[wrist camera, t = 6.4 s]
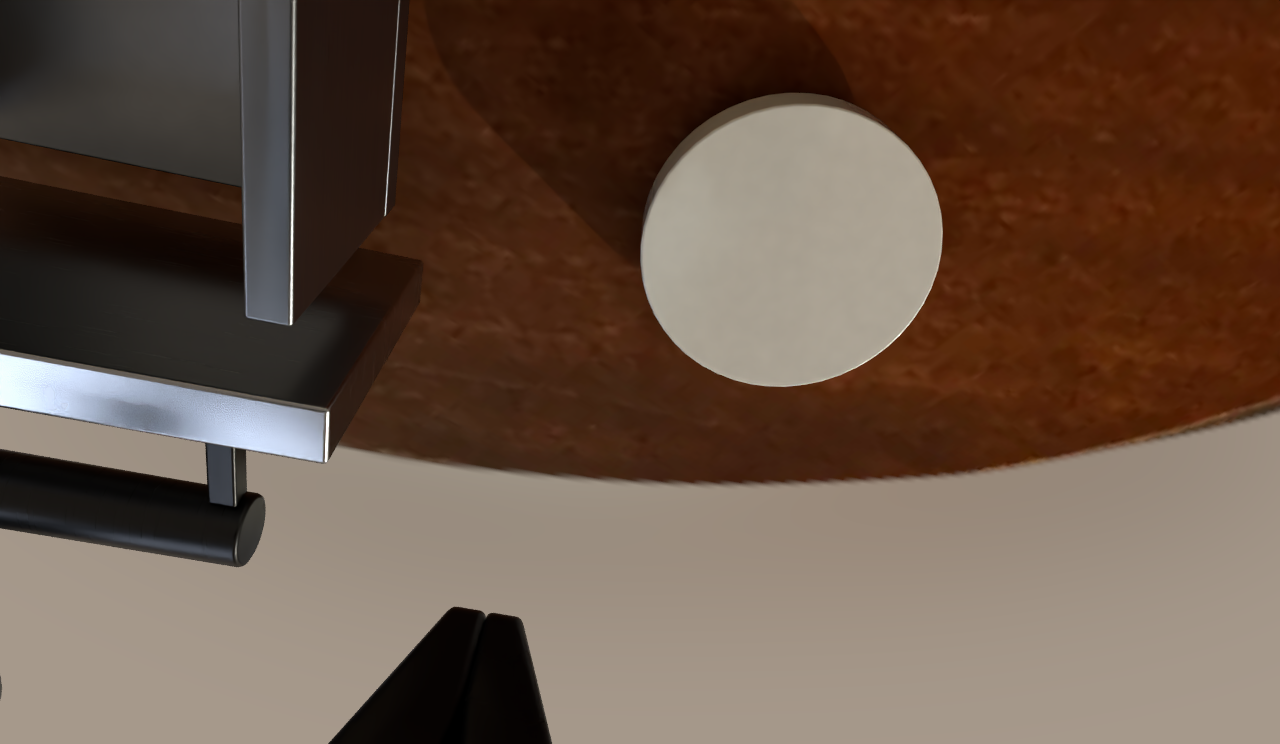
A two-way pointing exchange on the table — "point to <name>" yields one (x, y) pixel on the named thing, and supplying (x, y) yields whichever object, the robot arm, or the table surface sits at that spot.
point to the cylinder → (789, 240)
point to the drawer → (197, 251)
